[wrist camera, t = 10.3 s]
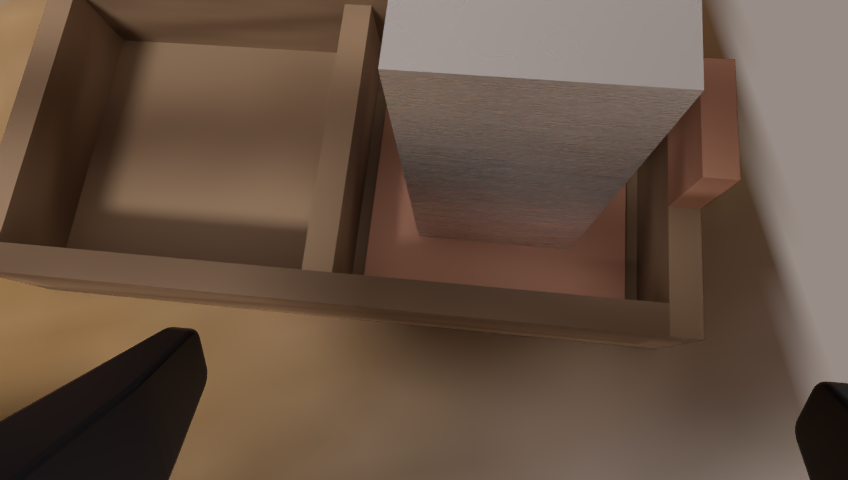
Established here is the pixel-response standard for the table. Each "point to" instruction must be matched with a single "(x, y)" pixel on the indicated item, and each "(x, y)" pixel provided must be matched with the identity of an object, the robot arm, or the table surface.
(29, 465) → the robot arm
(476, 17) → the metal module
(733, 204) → the table surface
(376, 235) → the divided wooden tray
